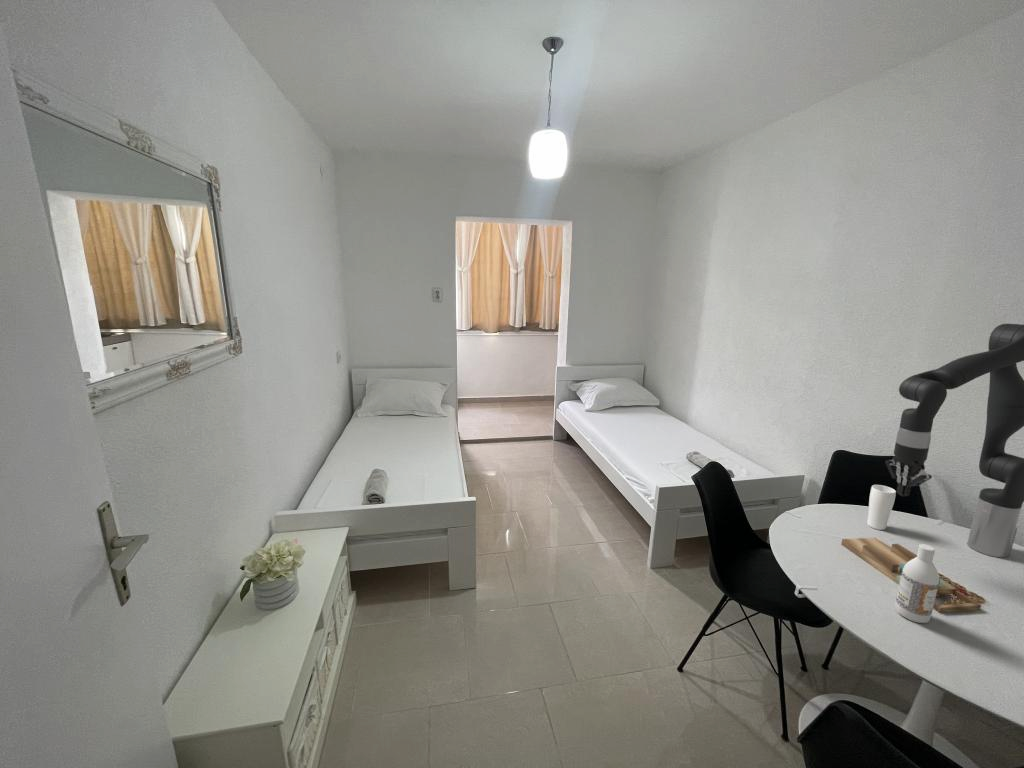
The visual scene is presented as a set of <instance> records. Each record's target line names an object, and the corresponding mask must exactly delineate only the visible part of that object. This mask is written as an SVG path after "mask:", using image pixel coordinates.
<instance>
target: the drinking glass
mask: <svg viewBox="0 0 1024 768" xmlns="http://www.w3.org/2000/svg"><path fill="white" fill-rule="evenodd" d="M896 493H897V490H895V489H894V488H892V487H889V486H887V485H882V484H873V485H871V487H870V493H869V498H868V499H869V500H868V512H867V521H866V524H867V525H868V527H870V528H872V529H874V530H879V531H883V530H886V528H887V525H888V521H889V519H890V517H891V516H890V515H891V512H892V510H893V507H894V504H895V500H896V495H897V494H896Z"/></svg>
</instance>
